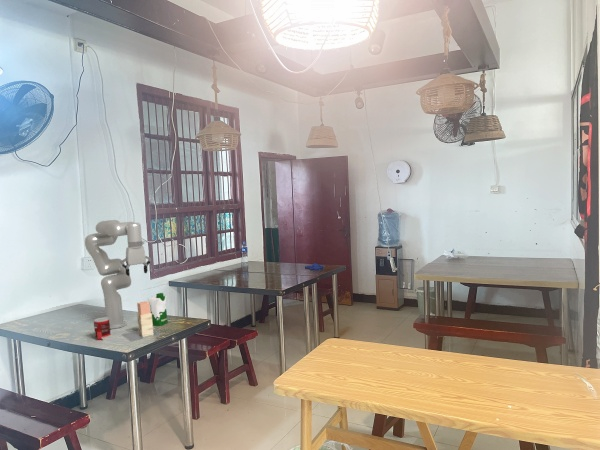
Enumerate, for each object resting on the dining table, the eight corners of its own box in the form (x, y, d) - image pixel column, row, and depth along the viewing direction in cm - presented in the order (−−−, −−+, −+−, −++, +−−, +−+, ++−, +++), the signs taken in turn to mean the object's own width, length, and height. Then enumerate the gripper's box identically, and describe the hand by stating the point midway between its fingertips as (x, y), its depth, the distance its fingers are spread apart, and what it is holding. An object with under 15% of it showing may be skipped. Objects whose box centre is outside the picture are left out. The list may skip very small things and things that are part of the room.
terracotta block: (138, 313, 241) (137, 302, 240) (147, 311, 244) (146, 301, 243) (141, 315, 237) (140, 304, 236) (150, 313, 240) (149, 302, 239)
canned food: (98, 336, 248) (96, 317, 248) (112, 335, 249) (111, 316, 248) (93, 341, 241) (91, 321, 240) (108, 339, 241) (106, 320, 241)
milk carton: (161, 329, 255) (158, 295, 254) (148, 328, 258) (145, 295, 257) (170, 324, 263) (167, 292, 262) (158, 324, 266) (155, 291, 265)
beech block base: (139, 334, 241) (138, 324, 241) (149, 332, 245) (148, 321, 245) (142, 337, 237) (141, 326, 236) (153, 334, 240) (152, 323, 240)
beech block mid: (138, 324, 241) (137, 313, 241) (148, 321, 245) (147, 311, 244) (141, 326, 236) (140, 315, 236) (152, 323, 240) (151, 313, 240)
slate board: (121, 337, 244) (121, 334, 244) (149, 330, 254) (149, 327, 254) (131, 344, 230) (131, 341, 230) (161, 336, 240) (160, 334, 240)
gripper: (148, 242, 254) (150, 271, 256) (117, 245, 244) (119, 275, 245) (152, 243, 248) (154, 273, 250) (120, 246, 238) (123, 277, 239)
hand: (137, 274), depth 248 cm, fingers open, 9 cm apart
